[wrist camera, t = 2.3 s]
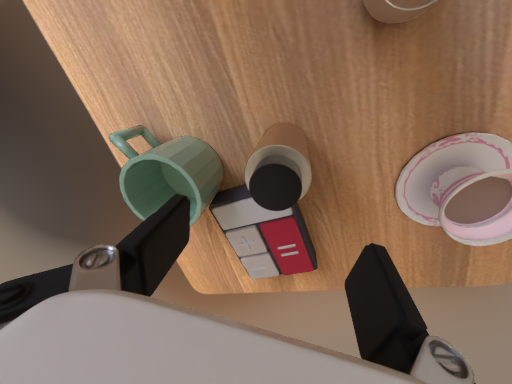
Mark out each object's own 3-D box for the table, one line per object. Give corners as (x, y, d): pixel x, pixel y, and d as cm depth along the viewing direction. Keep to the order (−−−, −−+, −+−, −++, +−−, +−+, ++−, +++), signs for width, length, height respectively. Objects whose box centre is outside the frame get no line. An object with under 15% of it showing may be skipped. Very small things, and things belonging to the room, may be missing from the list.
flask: (253, 151, 27) (226, 196, 17) (276, 112, 25) (262, 137, 14) (289, 174, 28) (284, 231, 17) (316, 138, 25) (330, 180, 15)
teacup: (386, 154, 25) (412, 175, 19) (521, 112, 21) (600, 124, 15) (400, 232, 29) (424, 267, 24) (513, 211, 25) (573, 246, 20)
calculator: (249, 283, 34) (205, 209, 27) (254, 262, 37) (215, 192, 31) (319, 274, 30) (286, 187, 24) (316, 251, 34) (287, 171, 28)
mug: (237, 176, 29) (218, 206, 22) (194, 208, 33) (166, 242, 26) (169, 98, 26) (122, 105, 19) (130, 144, 30) (79, 164, 23)
